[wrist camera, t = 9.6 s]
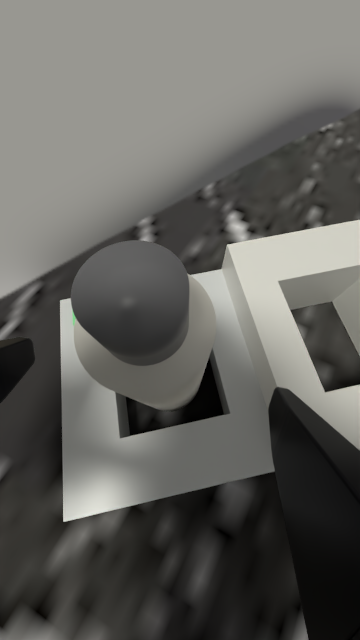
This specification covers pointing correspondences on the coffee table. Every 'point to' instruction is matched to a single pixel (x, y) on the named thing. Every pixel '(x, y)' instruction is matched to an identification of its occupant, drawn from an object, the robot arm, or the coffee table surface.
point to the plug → (142, 324)
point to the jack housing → (218, 378)
